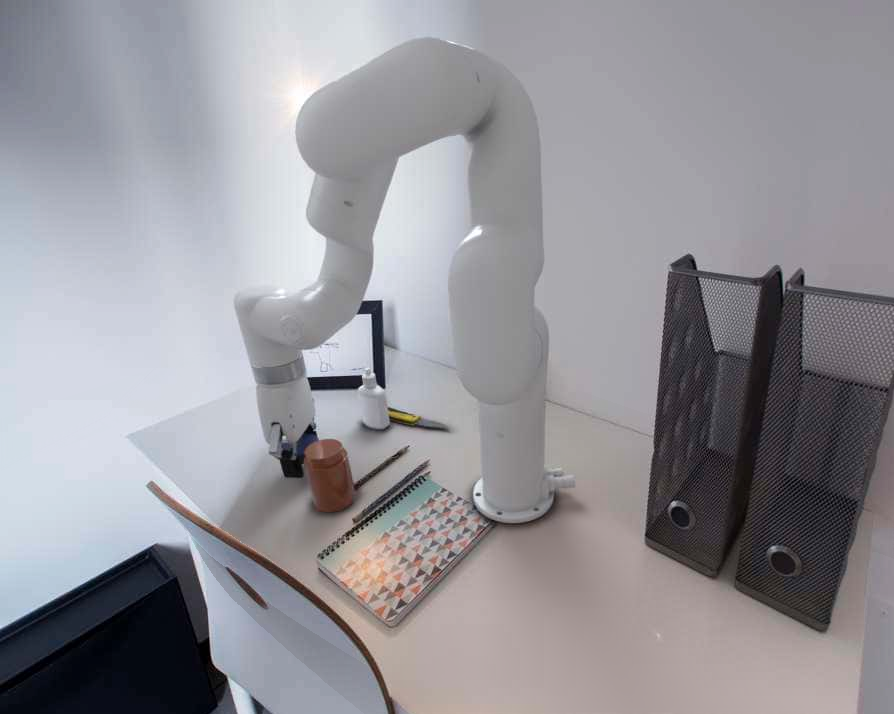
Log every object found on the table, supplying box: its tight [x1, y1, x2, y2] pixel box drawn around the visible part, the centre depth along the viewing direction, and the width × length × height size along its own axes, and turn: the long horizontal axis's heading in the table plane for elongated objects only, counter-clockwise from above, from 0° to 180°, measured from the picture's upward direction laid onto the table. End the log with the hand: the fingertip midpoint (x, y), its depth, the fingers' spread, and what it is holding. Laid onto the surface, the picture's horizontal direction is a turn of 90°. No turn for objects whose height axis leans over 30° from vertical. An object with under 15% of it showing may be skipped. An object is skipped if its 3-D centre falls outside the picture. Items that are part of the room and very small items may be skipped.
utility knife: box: [387, 406, 450, 429], centre depth 103 cm, size 16×1×3 cm
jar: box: [303, 438, 357, 513], centre depth 81 cm, size 6×6×10 cm
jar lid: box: [283, 433, 320, 465], centre depth 88 cm, size 7×7×2 cm
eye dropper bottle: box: [357, 367, 391, 430], centre depth 100 cm, size 4×6×12 cm
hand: (302, 462), depth 89 cm, fingers closed on jar lid, 6 cm apart
